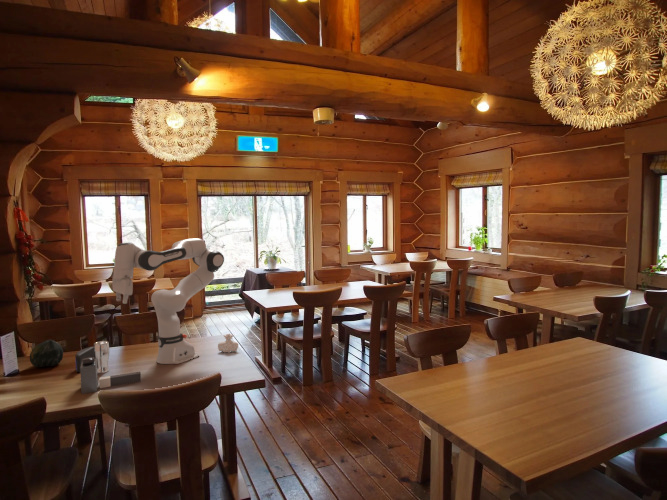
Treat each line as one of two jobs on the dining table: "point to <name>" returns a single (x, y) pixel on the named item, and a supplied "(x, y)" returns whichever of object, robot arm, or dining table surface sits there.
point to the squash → (46, 354)
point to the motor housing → (89, 375)
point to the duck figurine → (228, 344)
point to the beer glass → (102, 356)
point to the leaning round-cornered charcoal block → (83, 356)
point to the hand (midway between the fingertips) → (121, 302)
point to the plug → (120, 379)
